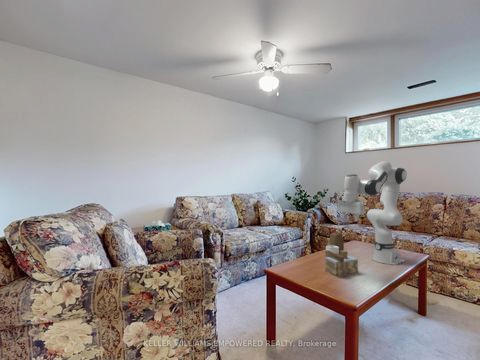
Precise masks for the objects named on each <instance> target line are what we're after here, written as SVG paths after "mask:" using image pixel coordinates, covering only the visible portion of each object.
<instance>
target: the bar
mask: <svg viewBox="0 0 480 360" xmlns="http://www.w3.org/2000/svg"><path fill="white" fill-rule="evenodd" d="M326 255H328V256H329V257H331V258H333V259H335V260H337V261H340V262H344V257H343V256H341V255H338V254H336V253H334V252H331V251H329V250H326V249H325V256H326Z"/></svg>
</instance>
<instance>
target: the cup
mask: <svg viewBox="0 0 480 360" xmlns="http://www.w3.org/2000/svg"><path fill="white" fill-rule="evenodd" d="M326 250H329V251H331V252H334V253H336V254H339V247H338V246H335V245H329V244H328V245H326V246H325V251H326Z"/></svg>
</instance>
